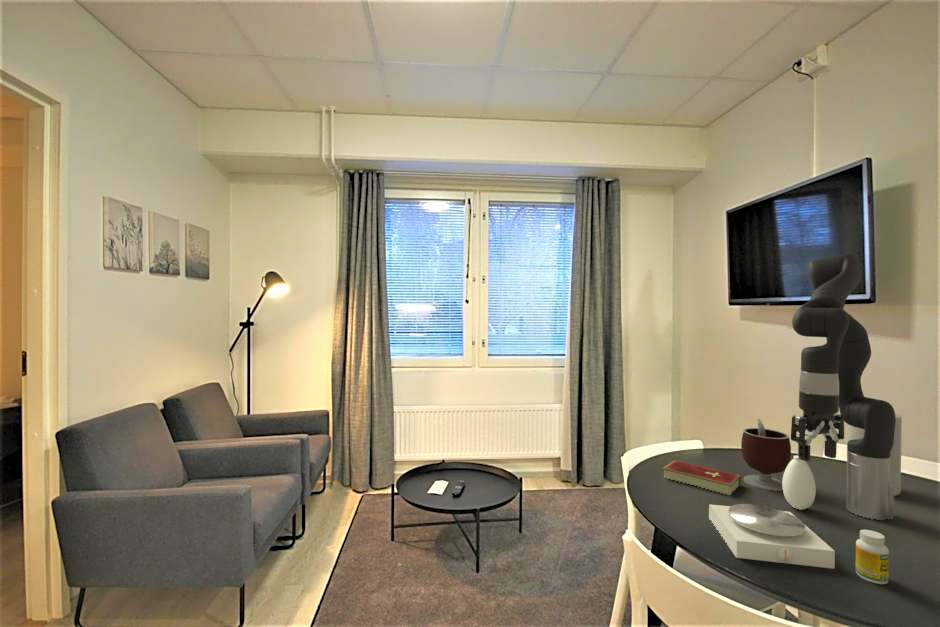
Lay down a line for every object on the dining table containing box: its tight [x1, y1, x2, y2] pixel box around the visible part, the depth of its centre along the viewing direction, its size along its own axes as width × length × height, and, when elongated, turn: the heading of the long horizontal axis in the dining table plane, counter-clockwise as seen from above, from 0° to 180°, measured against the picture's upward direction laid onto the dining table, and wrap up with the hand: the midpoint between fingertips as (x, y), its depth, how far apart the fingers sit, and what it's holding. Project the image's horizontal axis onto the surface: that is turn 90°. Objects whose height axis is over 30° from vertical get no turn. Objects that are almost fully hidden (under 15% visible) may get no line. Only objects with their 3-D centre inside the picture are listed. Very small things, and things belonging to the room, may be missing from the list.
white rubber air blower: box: [781, 454, 817, 511], centre depth 130 cm, size 8×8×18 cm
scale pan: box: [729, 503, 806, 537], centre depth 111 cm, size 16×16×1 cm
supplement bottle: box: [855, 529, 890, 585], centre depth 96 cm, size 5×5×10 cm
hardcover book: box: [662, 460, 742, 496], centre depth 150 cm, size 12×21×4 cm, turn 46°
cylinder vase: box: [848, 413, 903, 496], centre depth 145 cm, size 12×12×25 cm
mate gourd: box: [740, 418, 792, 492], centre depth 150 cm, size 16×14×20 cm
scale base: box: [708, 503, 836, 570], centre depth 111 cm, size 20×20×4 cm
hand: (817, 458), depth 106 cm, fingers open, 8 cm apart
